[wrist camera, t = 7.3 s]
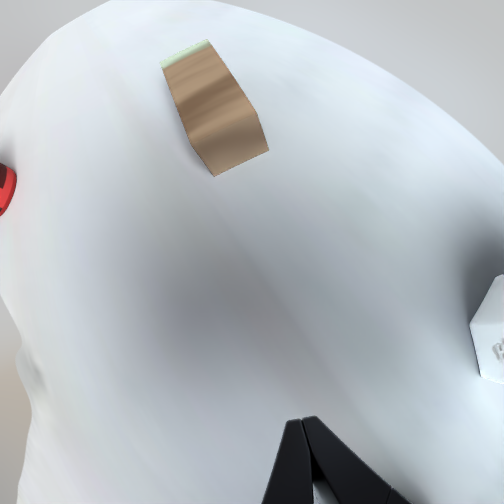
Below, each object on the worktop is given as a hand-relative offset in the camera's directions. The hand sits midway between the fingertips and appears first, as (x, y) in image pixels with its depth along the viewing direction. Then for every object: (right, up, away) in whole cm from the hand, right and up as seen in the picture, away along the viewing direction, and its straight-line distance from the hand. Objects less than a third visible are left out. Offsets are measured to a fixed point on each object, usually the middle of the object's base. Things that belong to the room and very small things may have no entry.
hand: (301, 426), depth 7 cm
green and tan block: (-3, +13, +14) cm, 19 cm away
